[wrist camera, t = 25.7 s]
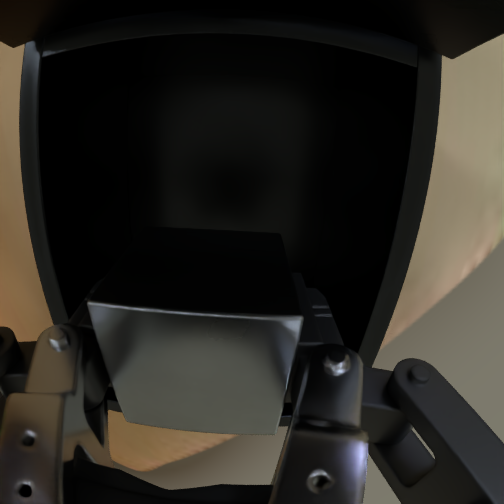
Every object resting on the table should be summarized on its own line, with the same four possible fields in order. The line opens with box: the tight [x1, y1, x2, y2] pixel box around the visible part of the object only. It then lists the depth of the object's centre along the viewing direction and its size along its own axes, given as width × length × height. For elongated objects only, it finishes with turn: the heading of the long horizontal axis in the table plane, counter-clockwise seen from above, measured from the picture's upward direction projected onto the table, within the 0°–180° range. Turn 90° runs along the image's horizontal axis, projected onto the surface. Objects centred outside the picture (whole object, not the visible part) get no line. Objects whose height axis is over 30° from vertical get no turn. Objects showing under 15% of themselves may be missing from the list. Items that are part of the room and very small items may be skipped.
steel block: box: [87, 226, 304, 435], centre depth 8 cm, size 4×4×4 cm
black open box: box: [19, 10, 442, 426], centre depth 13 cm, size 16×13×9 cm
